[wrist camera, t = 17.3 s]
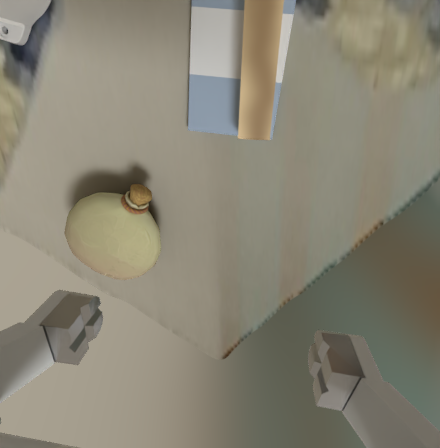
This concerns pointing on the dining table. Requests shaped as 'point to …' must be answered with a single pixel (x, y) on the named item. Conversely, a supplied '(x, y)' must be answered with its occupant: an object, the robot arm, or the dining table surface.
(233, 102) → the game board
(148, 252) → the flask
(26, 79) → the dining table surface
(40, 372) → the robot arm
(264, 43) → the light wooden block
